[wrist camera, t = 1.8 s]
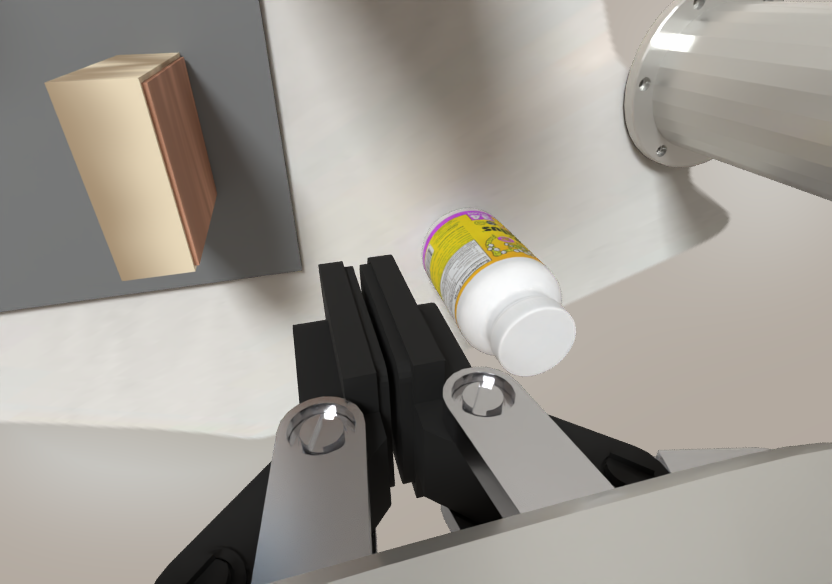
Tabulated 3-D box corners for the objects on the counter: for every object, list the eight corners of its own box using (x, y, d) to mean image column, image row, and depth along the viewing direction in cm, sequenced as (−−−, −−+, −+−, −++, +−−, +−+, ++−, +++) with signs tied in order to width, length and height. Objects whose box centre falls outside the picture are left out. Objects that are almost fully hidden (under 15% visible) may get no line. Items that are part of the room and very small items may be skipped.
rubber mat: (244, -88, 24) (244, -89, 23) (301, 267, 34) (302, 270, 34) (-267, -97, 20) (-279, -99, 19) (-23, 311, 30) (-27, 315, 30)
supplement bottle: (516, 239, 38) (613, 333, 27) (457, 297, 39) (527, 407, 29) (464, 186, 34) (552, 269, 24) (400, 251, 36) (457, 358, 25)
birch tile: (183, 52, 26) (144, 77, 17) (218, 195, 30) (200, 270, 22) (117, 55, 25) (44, 82, 17) (162, 201, 29) (122, 281, 21)
